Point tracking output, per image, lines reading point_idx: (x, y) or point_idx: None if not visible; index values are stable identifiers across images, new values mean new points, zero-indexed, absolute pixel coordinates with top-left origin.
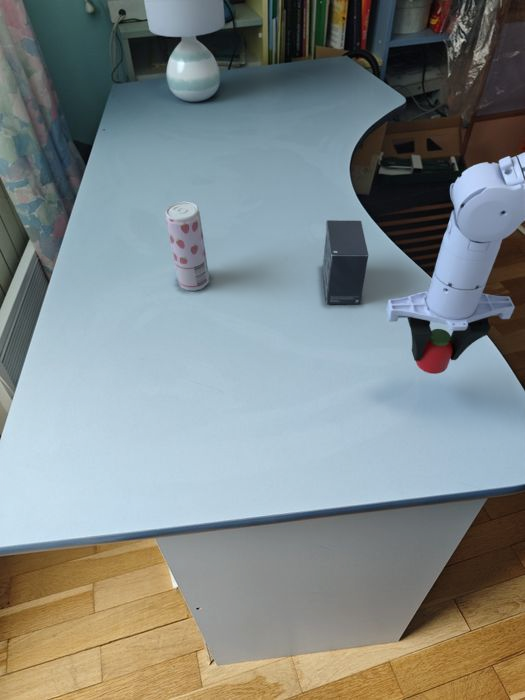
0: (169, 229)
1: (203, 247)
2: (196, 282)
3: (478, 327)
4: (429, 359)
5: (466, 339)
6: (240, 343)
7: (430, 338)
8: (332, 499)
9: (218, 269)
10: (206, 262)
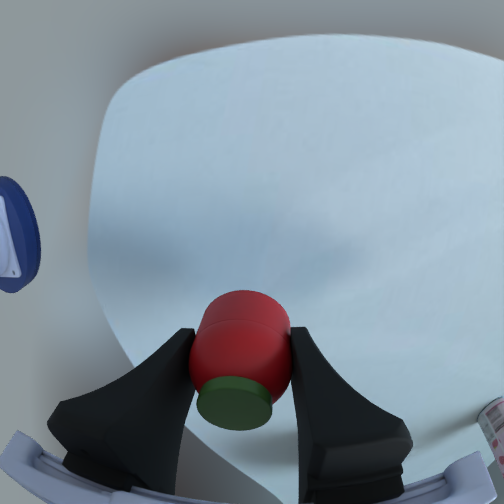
0: None
1: (498, 447)
2: (498, 408)
3: (85, 443)
4: (269, 329)
5: (137, 396)
6: (495, 342)
7: (271, 403)
8: (436, 51)
9: (463, 429)
10: (489, 433)
